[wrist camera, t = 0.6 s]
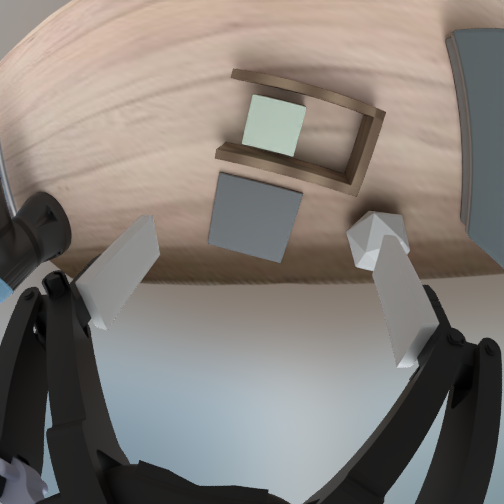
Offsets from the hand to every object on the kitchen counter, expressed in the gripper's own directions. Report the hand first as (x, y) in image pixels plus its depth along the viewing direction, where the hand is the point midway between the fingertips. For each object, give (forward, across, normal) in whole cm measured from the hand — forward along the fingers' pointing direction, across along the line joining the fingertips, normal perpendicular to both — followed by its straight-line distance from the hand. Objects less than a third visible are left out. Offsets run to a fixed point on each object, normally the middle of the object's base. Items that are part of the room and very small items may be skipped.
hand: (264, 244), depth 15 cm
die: (+24, +14, -10) cm, 30 cm away
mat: (+24, -4, -10) cm, 27 cm away
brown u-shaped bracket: (+24, +2, +4) cm, 24 cm away
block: (+24, -1, +4) cm, 25 cm away
